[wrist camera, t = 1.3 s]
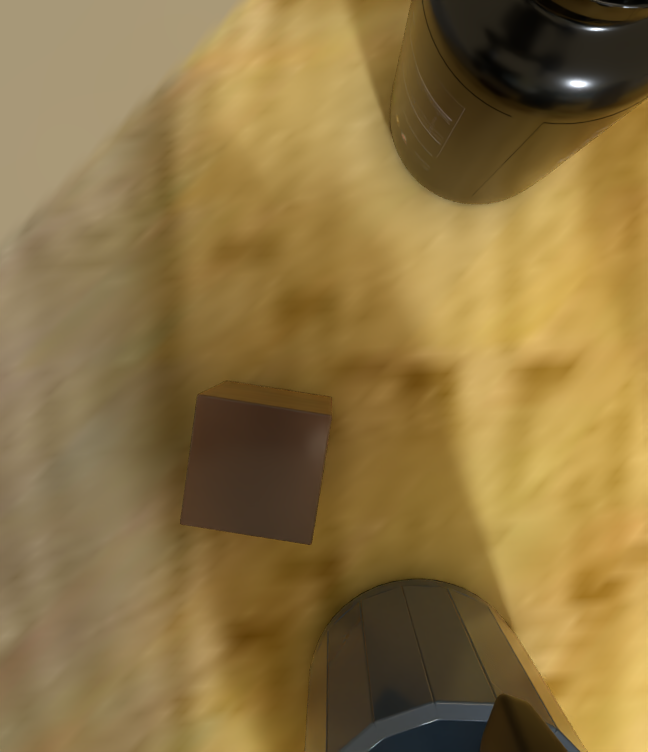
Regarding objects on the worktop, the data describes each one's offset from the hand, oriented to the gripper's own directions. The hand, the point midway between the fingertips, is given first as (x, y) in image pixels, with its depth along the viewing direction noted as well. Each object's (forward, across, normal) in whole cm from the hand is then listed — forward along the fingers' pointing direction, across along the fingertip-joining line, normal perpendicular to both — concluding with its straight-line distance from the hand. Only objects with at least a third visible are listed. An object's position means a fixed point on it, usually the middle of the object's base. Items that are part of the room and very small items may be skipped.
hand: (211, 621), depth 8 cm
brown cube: (+12, +2, +2) cm, 13 cm away
